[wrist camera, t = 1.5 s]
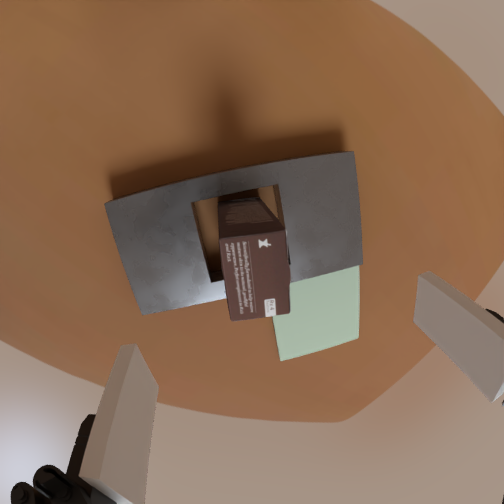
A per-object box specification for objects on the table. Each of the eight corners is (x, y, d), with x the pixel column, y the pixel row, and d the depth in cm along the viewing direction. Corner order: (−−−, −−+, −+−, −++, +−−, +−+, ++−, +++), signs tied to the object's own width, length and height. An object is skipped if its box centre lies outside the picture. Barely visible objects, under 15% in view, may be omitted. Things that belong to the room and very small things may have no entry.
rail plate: (146, 303, 30) (142, 315, 27) (112, 199, 26) (104, 203, 23) (352, 256, 31) (362, 264, 29) (342, 151, 27) (353, 151, 25)
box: (214, 201, 27) (216, 236, 16) (260, 196, 28) (294, 226, 16) (222, 259, 29) (230, 325, 18) (265, 253, 30) (297, 314, 19)
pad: (279, 358, 35) (280, 361, 34) (266, 285, 31) (267, 288, 31) (356, 335, 36) (358, 337, 35) (356, 263, 32) (359, 264, 31)
